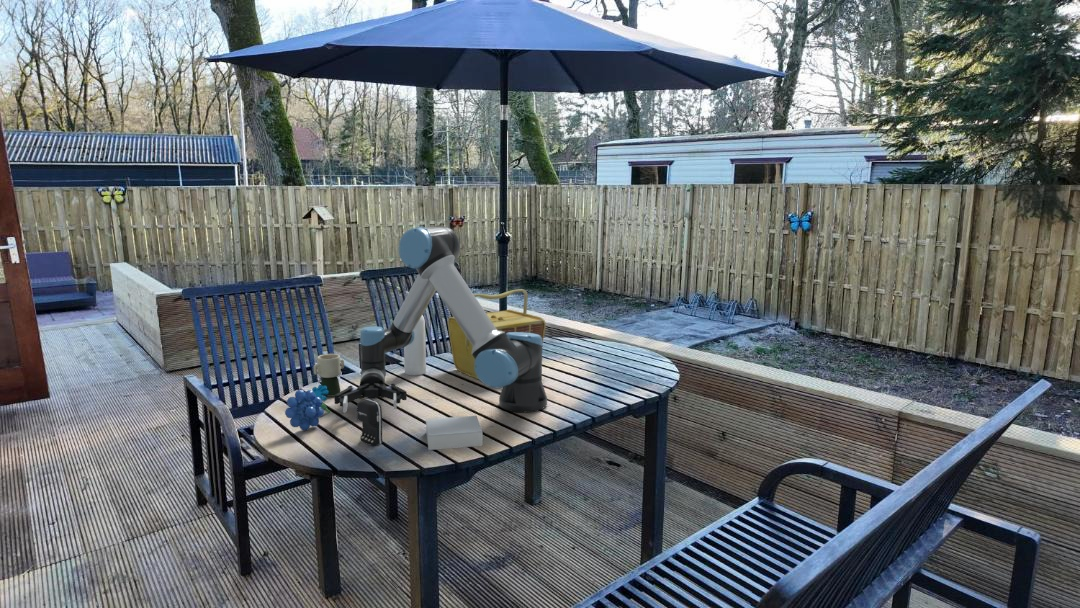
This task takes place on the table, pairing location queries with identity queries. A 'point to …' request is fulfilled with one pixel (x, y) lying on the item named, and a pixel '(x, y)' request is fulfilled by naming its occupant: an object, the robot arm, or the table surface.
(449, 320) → the picnic basket
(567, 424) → the table surface
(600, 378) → the table surface
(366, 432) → the battery charger
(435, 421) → the stand
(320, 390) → the blue green lumpy piece
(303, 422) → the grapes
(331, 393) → the character mug
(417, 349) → the bottle
